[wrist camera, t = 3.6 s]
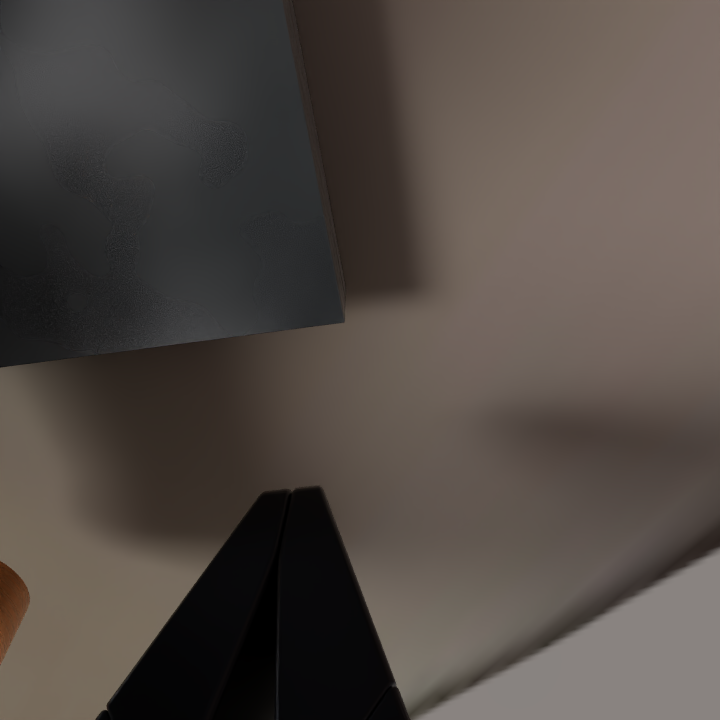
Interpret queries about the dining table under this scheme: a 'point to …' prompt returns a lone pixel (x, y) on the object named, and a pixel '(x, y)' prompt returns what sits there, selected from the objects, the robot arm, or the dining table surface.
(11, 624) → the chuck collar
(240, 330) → the chuck base
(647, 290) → the dining table surface
